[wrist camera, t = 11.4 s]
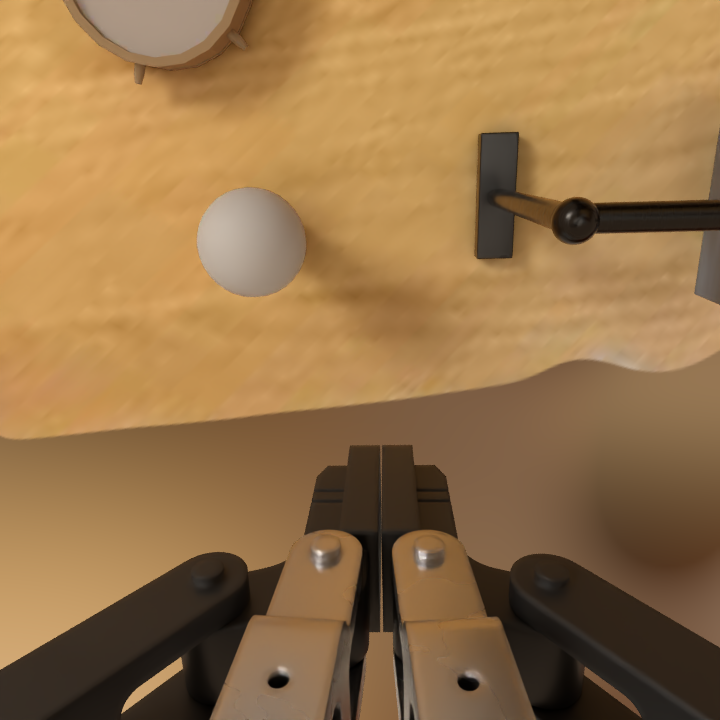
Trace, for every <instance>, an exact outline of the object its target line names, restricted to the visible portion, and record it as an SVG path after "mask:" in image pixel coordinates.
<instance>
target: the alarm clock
mask: <svg viewBox="0 0 720 720" xmlns="http://www.w3.org/2000/svg"><path fill="white" fill-rule="evenodd" d="M63 1H64V3H65V5H66V6H67V8H68V10H69V12H70V13H71V15H72V17H73V19H74V20H75V21H76V22H77V23H78V24H79V25H80V27H81V28H82V29H83V30H84V31H85V32H86V33H87V34H88V35H89V36H90V37H91V38H92V39H93V40H94V41H95V42H96V43H97V44H98V45H99V46H101V47H103V48H105V49H106V50H108V51H110V52H111V53H113V54H115V55H117V56H118V57H120V58H122V59H124V60H125V61H129V62H133V63H135V68H134V78H135V83H137V84H142V81H143V78H144V73H145V65H147V66H152V67H156V68H162V69H166V70H171V71H172V70H179V69H187V68H194V67H199V66H201V65H202V64H204V63H206V62H208V61H210V60H212V59H213V58H215V57H217V56H219V55H221V54H222V53H223V52H224V51H225V49H226V48H227V47H228V46H229V45H230V44H231V43H232V42H233V43H234V44H235V45H236V46H238V47H239V48H241V49H242V50H245V49H246V48H247V47H248V45H247V43H246V42H245V41H244V39H243V38H242V37H241V36H240V35H239V33H240V31H241V29H242V27H243V24H244V22H245V19H246V17H247V15H248V12H249V10H250V8H251V5H252V0H63Z"/></svg>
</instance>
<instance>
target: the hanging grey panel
mask: <svg viewBox="0 0 720 720" xmlns="http://www.w3.org/2000/svg"><path fill="white" fill-rule="evenodd" d="M709 200H720V129H719V136H718V142H717V149H716V155H715V162H714V168H713V175H712V181H711V188H710V194H709ZM694 294H696V295H698V296H700V297H703V298H705V299H708V300H710V301H712V302H715V303H717V304H719V305H720V231H704V233H703V240H702V246H701V253H700V259H699V266H698V272H697V279H696V285H695V292H694Z"/></svg>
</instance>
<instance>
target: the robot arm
mask: <svg viewBox="0 0 720 720" xmlns="http://www.w3.org/2000/svg"><path fill="white" fill-rule="evenodd" d="M412 449H413V448H412V445H383V446H382V521H381V474H380V446H379V445H371V446H370V445H363V446H362V445H361V446H359V445H357V446H350V450H349V457H348V465H347V466H328V467H327V468H326V469H325V470H324V471H322V473H320V475H318V477H317V479H316V484H315V489H314V493H313V498H312V503H311V507H310V511H309V516H308V521H307V525H306V529H305V534H304V536H303V537H301V538H299V539H298V540H297V541H296V542H295V543H294V544H293V545H292V547H291V549H290V551H289V554H288V557H287V560H286V561H284V562H282V563H280V564H277V565H274V566H271V567H267V568H264V569H259V570H254V571H250V572H248V569H247V565H246V563H245V562H244V561H243V560H242V559H241V558H240V557H238V556H236V555H234V554H230V553H225V552H213V553H207V554H202V555H199V556H196V557H194V558H191V559H189V560H188V561H186V562H184V563H182V564H180V565H179V566H177V567H175V568H174V569H172V570H170V571H168V572H167V573H165V574H164V575H162V576H160V577H158V578H157V579H155V580H153V581H151V582H150V583H148V584H146V585H145V586H143V587H141V588H139V589H138V590H136V591H134V592H133V593H131V594H129V595H128V596H126V597H124V598H123V599H121V600H119V601H117V602H116V603H114V604H112V605H110V606H109V607H107V608H106V609H104V610H102V611H100V612H99V613H97V614H95V615H93V616H92V617H90V618H88V619H86V620H85V621H83V622H81V623H80V624H78V625H76V626H75V627H73V628H71V629H70V630H68V631H66V632H65V633H63V634H61V635H59V636H57V637H56V638H54V639H52V640H51V641H49V642H47V643H45V644H44V645H42V646H40V647H39V648H37V649H35V650H34V651H32V652H30V653H28V654H27V655H25V656H23V657H22V658H20V659H18V660H16V661H15V662H13V663H11V664H10V665H8V666H6V667H4V668H3V669H1V670H0V720H359V718H360V710H361V702H362V695H363V687H364V680H365V671H366V653H367V650H368V646H369V632H380V593H381V537H382V580H383V581H382V585H383V632H393V646H394V647H393V649H394V650H393V651H394V652H393V654H394V676H395V685H396V695H397V704H398V713H399V720H720V648H719V647H718V646H716V645H714V644H713V643H711V642H709V641H707V640H706V639H704V638H702V637H701V636H699V635H697V634H695V633H694V632H692V631H690V630H689V629H687V628H685V627H684V626H682V625H680V624H679V623H677V622H675V621H673V620H672V619H670V618H668V617H667V616H665V615H663V614H661V613H660V612H658V611H656V610H655V609H653V608H651V607H649V606H648V605H646V604H644V603H643V602H641V601H639V600H637V599H636V598H634V597H633V596H631V595H629V594H627V593H626V592H624V591H622V590H621V589H619V588H617V587H615V586H614V585H612V584H610V583H609V582H607V581H605V580H603V579H602V578H600V577H598V576H597V575H595V574H593V573H592V572H590V571H588V570H587V569H585V568H583V567H581V566H580V565H578V564H576V563H574V562H573V561H570V560H568V559H566V558H563V557H560V556H556V555H550V554H533V555H528V556H524V557H522V558H520V559H519V560H517V561H516V562H515V563H514V564H513V566H512V568H511V571H510V572H509V571H505V570H500V569H496V568H492V567H488V566H486V565H483V564H481V563H479V562H477V561H475V560H473V559H472V558H470V557H469V556H468V555H467V553H466V550H465V548H464V546H463V544H462V543H461V542H460V541H459V540H458V537H457V533H456V527H455V521H454V516H453V511H452V506H451V502H450V496H449V492H448V485H447V480H446V476H445V475H444V474H443V473H442V472H441V471H440V470H439V469H438V468H437V467H436V466H435V465H414V460H413V450H412ZM179 657H181V658H182V664H183V669H182V670H181V671H179V672H178V673H177V674H175V675H174V676H172V677H171V678H170V679H168V680H167V681H166V682H164V683H163V684H162V685H160V686H159V687H157V688H156V689H155V690H154V691H152V692H151V693H149V694H148V695H147V696H145V697H144V698H143V699H141V700H140V701H139V702H137V703H136V704H134V705H133V706H132V707H130V708H129V709H128V710H126V711H125V712H123V713H122V714H121V712H122V709H123V706H124V704H125V702H126V700H127V699H128V697H129V696H130V695H131V694H132V692H134V691H135V690H136V689H137V688H138V687H139V686H141V685H142V684H143V683H145V682H146V681H148V680H149V679H150V678H152V677H153V676H155V675H156V674H157V673H159V672H160V671H161V670H163V669H164V668H166V667H167V666H168V665H170V664H171V663H173V662H174V661H176V660H177V659H178V658H179ZM585 667H587V668H588V669H590V670H591V671H592V672H594V673H595V674H596V675H598V676H599V677H600V678H602V679H603V680H605V681H606V682H607V683H609V684H610V685H611V686H613V687H614V688H615V689H617V690H618V691H620V692H621V693H622V694H624V695H625V696H626V697H627V698H628V699H629V700H630V701H631V702H632V703H633V704H634V705H635V707H636V708H637V710H638V711H639V713H640V715H641V717H642V718H640V717H639V716H638V715H637V714H635V713H634V712H632V711H631V710H630V709H629V708H627V707H626V706H625V705H623V704H622V703H621V702H619V701H618V700H617V699H615V698H614V697H612V696H611V695H610V694H609V693H607V692H606V691H605V690H603V689H602V688H601V687H599V686H598V685H596V684H595V683H594V682H593V681H591V680H590V679H589V678H587V677H586V676H584V668H585Z"/></svg>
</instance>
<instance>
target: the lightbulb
mask: <svg viewBox="0 0 720 720" xmlns="http://www.w3.org/2000/svg"><path fill="white" fill-rule="evenodd" d="M197 248H198V252H199V257H200V259H201V262H202V264H203V266H204V268H205V270H206V271H207V273H208V274H209V276H210V277H211V278H212V279H213V280H214V281H215V282H216V283H217V284H218V285H220V286H221V287H223V288H224V289H225V290H228V291H230V292H232V293H234V294H237V295H241V296H246V297H260V296H267V295H270V294H273V293H276V292H278V291H279V290H281V289H283V288H284V287H286V286H287V285H288V284H289V283H290V282H291V281H292V280H293V279H294V278H295V276H296V275H297V273H298V272H299V271H300V269H301V266H302V264H303V262H304V258H305V254H306V236H305V230H304V227H303V224H302V222H301V219H300V218H299V216H298V214H297V213H296V211H295V210H294V209H293V208H292V206H291V205H290V204H289V203H288V202H287V201H285V200H284V199H283V198H282V197H280V196H279V195H277V194H275V193H273V192H271V191H268V190H265V189H261V188H252V187H247V188H240V189H235V190H232V191H229V192H227V193H225V194H223V195H221V196H220V197H218V198H217V199H216V200H215V201H214V202H213V203H212V204H211V205H210V206H209V207H208V209H207V210H206V212H205V213H204V215H203V216H202V219H201V221H200V224H199V227H198V233H197Z"/></svg>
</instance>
